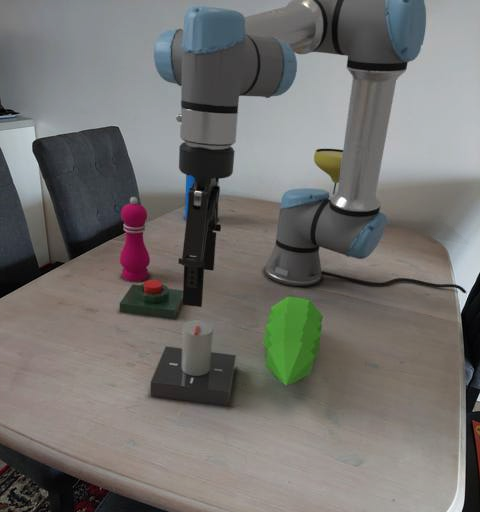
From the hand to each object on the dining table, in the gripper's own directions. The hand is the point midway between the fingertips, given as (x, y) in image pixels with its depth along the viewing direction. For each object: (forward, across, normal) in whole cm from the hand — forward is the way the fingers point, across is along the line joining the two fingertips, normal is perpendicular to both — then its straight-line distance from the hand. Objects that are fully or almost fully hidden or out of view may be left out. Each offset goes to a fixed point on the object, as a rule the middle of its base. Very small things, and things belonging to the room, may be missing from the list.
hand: (199, 285), depth 74 cm
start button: (+15, -26, -14) cm, 32 cm away
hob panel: (+18, +1, 0) cm, 18 cm away
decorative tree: (+19, -8, +16) cm, 26 cm away
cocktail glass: (+19, -105, +33) cm, 112 cm away
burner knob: (+15, +1, 0) cm, 15 cm away
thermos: (+19, -92, -13) cm, 95 cm away
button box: (+18, -26, -14) cm, 34 cm away
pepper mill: (+18, -40, -22) cm, 49 cm away
